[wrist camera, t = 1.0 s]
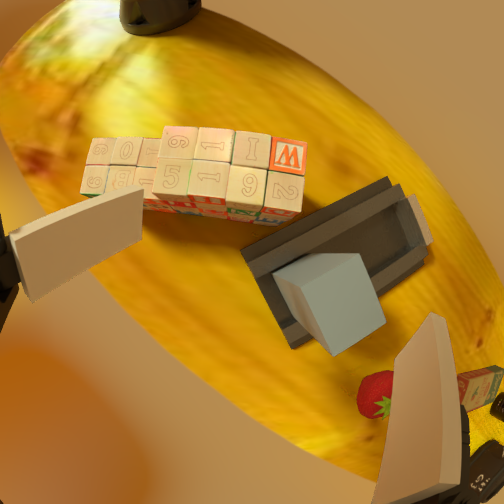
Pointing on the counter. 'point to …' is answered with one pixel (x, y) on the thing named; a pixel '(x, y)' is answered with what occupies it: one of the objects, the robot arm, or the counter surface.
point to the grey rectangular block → (331, 298)
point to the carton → (479, 386)
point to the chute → (346, 244)
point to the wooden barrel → (487, 470)
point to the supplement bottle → (498, 407)
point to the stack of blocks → (204, 173)
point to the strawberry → (376, 394)
